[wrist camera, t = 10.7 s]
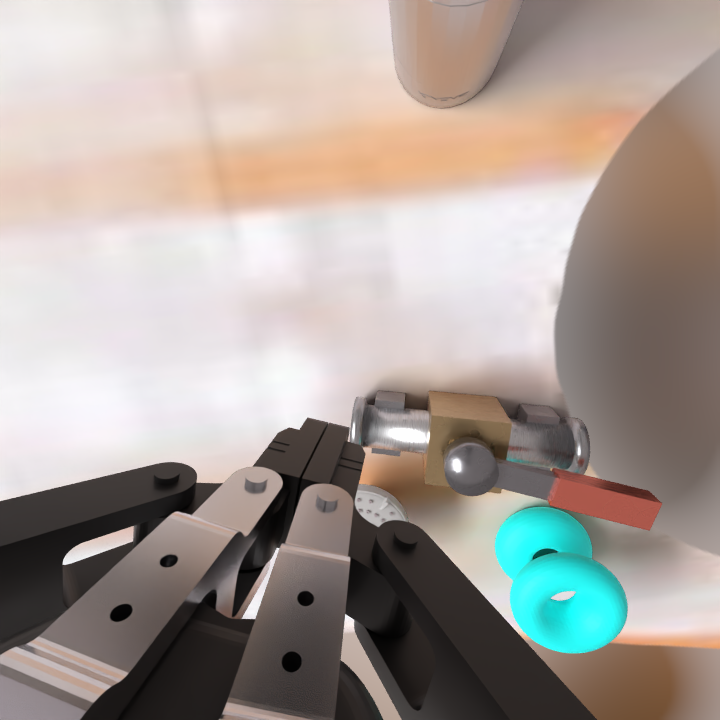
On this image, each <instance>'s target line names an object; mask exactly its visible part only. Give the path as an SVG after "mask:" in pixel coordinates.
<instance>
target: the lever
mask: <svg viewBox="0 0 720 720" xmlns="http://www.w3.org/2000/svg"><path fill="white" fill-rule="evenodd" d="M443 465H444V472H445V477H446V480H447V482H448V484H449V485H450V487H451V488H452V489H454V490H455V491H456V492H458V493H460V494H463V495H467V496H478V495H482V494H484V493H486V492H488V491H489V490H491V489H492V488H493V487H497V488H501V489H505V490H509V491H513V492H517V493H521V494H525V495H529V496H533V497H537V498H541V499H545V500H548V502H549V504H550V506H554V507H558V508H562V509H566V510H570V511H574V512H578V513H582V514H586V515H590V516H594V517H598V518H602V519H605V520H609V521H613V522H617V523H621V524H625V525H629V526H633V527H637V528H641V529H645V530H649V531H650V528H651V526H652V524H653V522H654V520H655V518H656V516H657V514H658V512H659V509H660V507H661V505H662V503H661V502H660V501H659V500H658V499H657V498H656V497H655V496H654V495H653V494H652V493H650V492H649V491H647V490H643V489H639V488H635V487H631V486H627V485H623V484H619V483H615V482H610V481H606V480H602V479H598V478H594V477H590V476H586V475H582V474H578V473H574V472H569V471H565V470H561V469H557V468H553V469H552V471H548V470H544V469H540V468H536V467H532V466H528V465H523V464H519V463H515V462H511V461H507V460H503V459H499V458H495V457H494V455H493V453H492V450H491V449H490V447H489V446H488V445H487V444H486V443H485V442H484V441H482V440H480V439H477V438H474V437H463V438H459V439H456V440H454V441H453V442H452V443H450V444H449V445H448V446H447V448H446V449H445V451H444V455H443Z"/></svg>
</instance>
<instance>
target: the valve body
mask: <svg viewBox="0 0 720 720" xmlns="http://www.w3.org/2000/svg"><path fill="white" fill-rule="evenodd" d="M404 404H405V393H399V392H389V391H378V392H377V395H376V399H375V405H368V402H367V398H364V397H356V400H355V403H354V408H353V414H352V421H351V431H350V442H351V443H355V444H359V445H361V446H362V448H363V447H368V448H372V453H377V454H386V455H394V456H400V451H404V452H413V453H422V454H423V464H424V484H427V485H435V486H443V487H450V485H449V484H448V482H447V480H446V477H445V472H444V465H443V455H444V451H445V449H446V448H447V446H448V445H449V444H450V443H452V442H453V441H454V440H456V439H459V438H463V437H474V438H477V439H480V440H482V441H484V442H485V443H486V444H487V445H488V446H489V447H490V449H491V450H492V453H493V455H494V457H495V458H499V459H503V460H507V461H511V462H515V463H519V464H523V465H528V466H532V467H536V468H540V469H544V470H548V471H550V468H557V469H561V470H565V471H569V472H574V473H578V474H582V475H583V474H584V473H585V471H586V469H587V466H588V463H589V457H590V441H589V435H588V432H587V429H586V426H585V424H584V423H583V422H582V420H580V419H578V418H571V417H564V418H562V419H561V420H560V417H559V416H558V415H557V414H556V413H555V412H554V411H553V410H552V409H551V408H550V407H548V406H537V405H527V404H520V405H519V411H518V417H517V419H509V417H508V416H507V414H506V413H505V411H504V409H503V408H502V406H501V405H500V403H499V401H498V400H497V398H496V397H490V396H479V395H468V394H457V393H447V392H436V391H429V394H428V404H427V410H418V409H407V408H404ZM488 492H493V493H501V488H497V487H493V488H492V489H491V490H489V491H488Z"/></svg>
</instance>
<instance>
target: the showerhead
mask: <svg viewBox="0 0 720 720" xmlns="http://www.w3.org/2000/svg"><path fill="white" fill-rule="evenodd" d="M355 506H356V509H357V510H358V512H359V513H360V515H361V516H362V517H363V518H364V519H366V520H367V521H368V522H370V523H372V524H374V525H376V526H377V527H379V526H380V525H381V524H383V523H384V522H387V521H391V520H402V521H406V522H408V517H407V514H406V512H405V510H404V508H403V506H402V505H401V503H400V502H399V501H398V500H397V499H396V498H395V497H394V496H393V495H391V494H390V493H389V492H387V491H385V490H383V489H381V488H379V487H376V486H372V485H366V484H359V485H358V489H357V493H356V498H355Z"/></svg>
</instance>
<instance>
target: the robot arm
mask: <svg viewBox="0 0 720 720" xmlns="http://www.w3.org/2000/svg"><path fill="white" fill-rule="evenodd" d="M523 1H524V0H389V9H390V20H391V30H392V42H393V51H394V61H395V68H396V71H397V75H398V78H399V80H400V82H401V84H402V85H403V87H404V89H405V90H406V91H407V92H408V93H409V94H410V95H411V97H413V98H414V99H416V100H417V101H418V102H420V103H422V104H425V105H427V106H430V107H436V108H446V107H453V106H456V105H459V104H462V103H464V102H466V101H467V100H469V99H471V98H472V97H474V96H475V95H476V94H477V93H478V92H479V91H480V90H481V89H482V88H483V87H484V86H485V84H486V83H487V82H488V81H489V79H490V78H491V76H492V74H493V72H494V70H495V68H496V66H497V63H498V61H499V58H500V56H501V54H502V51H503V49H504V46H505V44H506V42H507V40H508V37H509V35H510V32H511V30H512V27H513V25H514V23H515V20H516V18H517V15H518V13H519V10H520V8H521V6H522V3H523ZM349 430H350V428H349V427H345V426H341V425H337V424H333V423H329V424H328V422H324V421H320V420H316V419H311V418H307V419H306V421H305V422H304V424H303V425H302V427H301V428H300V430H297V429H293V428H287V429H285V430H283V431H281V432H279V433H278V434H277V435H276V437H275V438H274V439H273V441H272V442H271V443H270V444H269V446H268V448H266V450H265V451H264V452H263V454H262V455H261V456H260V458H259V459H258V460H257V462H256V463H255V464H254V465H253V467H246V468H243V469H240V470H238V471H236V472H234V473H233V474H232V475H231V476H230V477H229V478H228V479H227V480H226V481H225V482H224V483H196V481H197V474H196V472H195V470H194V469H193V468H192V467H190V466H188V465H185V464H182V463H175V462H166V463H159V464H155V465H151V466H146V467H142V468H138V469H134V470H130V471H125V472H121V473H117V474H113V475H109V476H104V477H100V478H96V479H92V480H88V481H83V482H79V483H75V484H71V485H67V486H62V487H58V488H54V489H50V490H46V491H41V492H37V493H33V494H29V495H25V496H20V497H16V498H12V499H8V500H4V501H0V720H383V718H382V716H381V714H380V712H379V710H378V708H377V706H376V704H375V702H374V700H373V698H372V697H371V695H370V693H369V692H368V690H367V689H366V687H365V685H364V684H363V683H362V682H361V680H360V679H359V678H358V676H357V675H356V674H355V673H354V672H353V671H352V670H351V669H350V668H349V667H348V666H347V665H346V664H345V663H344V662H342V661H341V660H340V659H341V649H342V639H343V629H344V619H345V614H346V615H348V616H350V617H351V618H353V619H354V628H355V632H356V635H357V637H358V639H359V641H360V643H361V645H362V647H363V648H364V650H365V652H366V654H367V656H368V658H369V660H370V661H371V663H372V665H373V667H374V669H375V671H376V672H377V674H378V676H379V678H380V680H381V682H382V684H383V685H384V687H385V689H386V691H387V693H388V694H389V697H390V698H391V700H392V702H393V704H394V706H395V707H396V709H397V711H398V713H399V715H400V717H401V719H402V720H597V719H596V718H595V717H594V716H593V715H592V714H591V713H590V712H589V711H588V710H587V708H586V707H585V706H584V705H583V704H582V703H581V702H580V701H579V700H578V699H577V697H576V696H575V695H574V694H573V693H572V692H571V691H570V690H569V689H568V688H567V687H566V685H564V683H563V682H562V681H561V680H560V679H559V678H558V677H557V676H556V674H555V673H554V672H553V671H552V670H551V669H550V668H549V667H548V666H547V665H546V663H545V662H544V661H543V660H542V659H541V658H540V657H539V656H538V655H537V654H536V653H535V651H534V650H533V649H532V648H531V647H530V646H529V645H528V644H527V643H526V642H525V641H524V639H523V638H522V637H521V636H520V635H519V634H518V633H517V632H516V631H515V630H514V629H513V627H512V626H511V625H510V624H509V623H508V622H507V621H506V620H505V619H504V618H503V617H502V615H501V614H500V613H499V612H498V611H497V610H496V609H495V608H494V607H493V606H492V605H491V603H490V602H489V601H488V600H487V599H486V598H485V597H484V596H483V595H482V594H481V592H480V591H479V590H478V589H477V588H476V587H475V586H474V585H473V584H472V583H471V582H470V580H469V579H468V578H467V577H466V576H465V575H464V574H463V573H462V572H461V571H460V570H459V568H458V567H457V566H456V565H455V564H454V563H453V562H452V561H451V560H450V559H449V558H448V556H447V555H446V554H445V553H444V552H443V551H442V550H441V549H440V548H439V547H438V546H437V544H436V543H435V542H434V541H433V540H432V539H431V538H430V537H429V536H428V535H427V534H426V533H425V532H424V531H423V530H422V529H421V528H419V527H418V526H416V525H414V524H412V523H409V522H406V521H402V520H391V521H387V522H384V523H383V524H381V525H380V526H379V527H377V526H376V525H374V524H372V523H370V522H368V521H367V520H366V519H364V518H363V517H362V516H361V515H360V513H359V512H358V510H357V509H356V506H355V498H356V493H357V489H358V485H359V480H360V476H361V471H362V467H363V462H364V458H365V452H364V450H363V448H362V446H361V445H359V444H355V443H351V442H347V440H348V436H349ZM131 526H134V534H133V542H130V543H128V544H125V545H122V546H119V547H116V548H114V549H111V550H108V551H105V552H102V553H100V554H97V555H94V556H91V557H89V558H86V559H83V560H80V561H77V562H75V563H72V564H68V565H62V563H63V559H64V557H65V555H66V554H67V553H68V552H69V551H70V550H71V549H72V548H73V547H75V546H77V545H78V544H80V543H83V542H86V541H89V540H92V539H95V538H98V537H101V536H104V535H107V534H110V533H113V532H116V531H119V530H122V529H125V528H128V527H131ZM276 548H280V549H279V552H278V555H277V558H276V561H275V564H274V567H273V569H272V572H271V575H270V578H269V581H268V584H267V587H266V590H265V593H264V596H263V599H262V602H261V604H260V607H259V610H258V613H257V616H256V619H242V617H243V615H244V613H245V611H246V610H247V608H248V606H249V604H250V602H251V601H252V599H253V597H254V595H255V594H256V592H257V590H258V588H259V586H260V585H261V583H262V581H263V579H264V578H265V576H266V574H267V572H268V570H269V565H270V560H271V558H272V556H273V554H274V552H275V550H276Z"/></svg>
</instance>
